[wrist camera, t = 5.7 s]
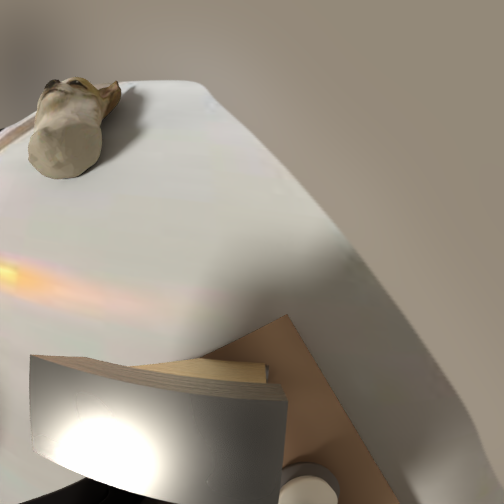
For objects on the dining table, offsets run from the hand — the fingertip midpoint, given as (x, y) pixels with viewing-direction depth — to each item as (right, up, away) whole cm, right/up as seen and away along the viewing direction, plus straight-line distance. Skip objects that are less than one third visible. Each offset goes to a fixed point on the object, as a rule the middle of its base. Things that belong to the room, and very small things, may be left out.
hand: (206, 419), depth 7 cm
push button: (+4, -7, +3) cm, 8 cm away
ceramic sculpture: (-16, +16, +18) cm, 29 cm away
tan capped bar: (0, -1, +6) cm, 6 cm away
